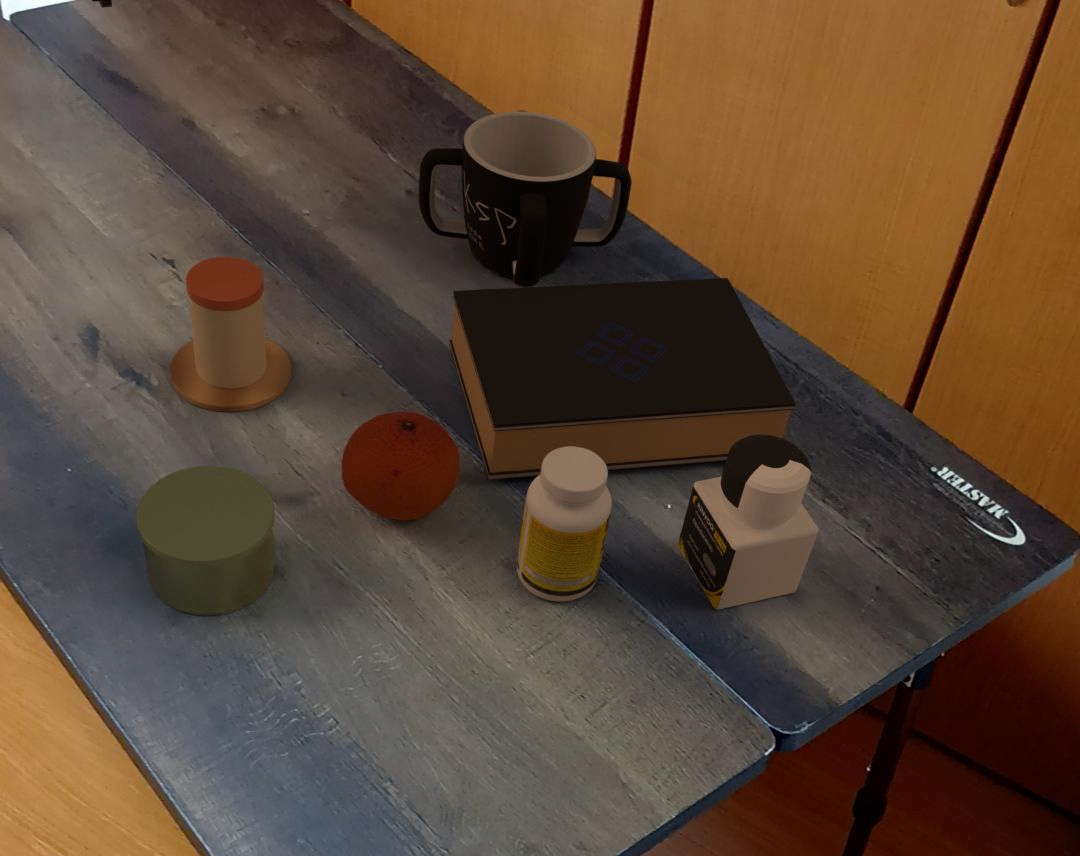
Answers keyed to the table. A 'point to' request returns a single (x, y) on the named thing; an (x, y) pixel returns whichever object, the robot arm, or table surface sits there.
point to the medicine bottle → (750, 524)
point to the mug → (524, 193)
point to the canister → (227, 321)
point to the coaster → (230, 399)
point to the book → (613, 373)
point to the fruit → (400, 465)
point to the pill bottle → (565, 525)
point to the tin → (207, 539)
